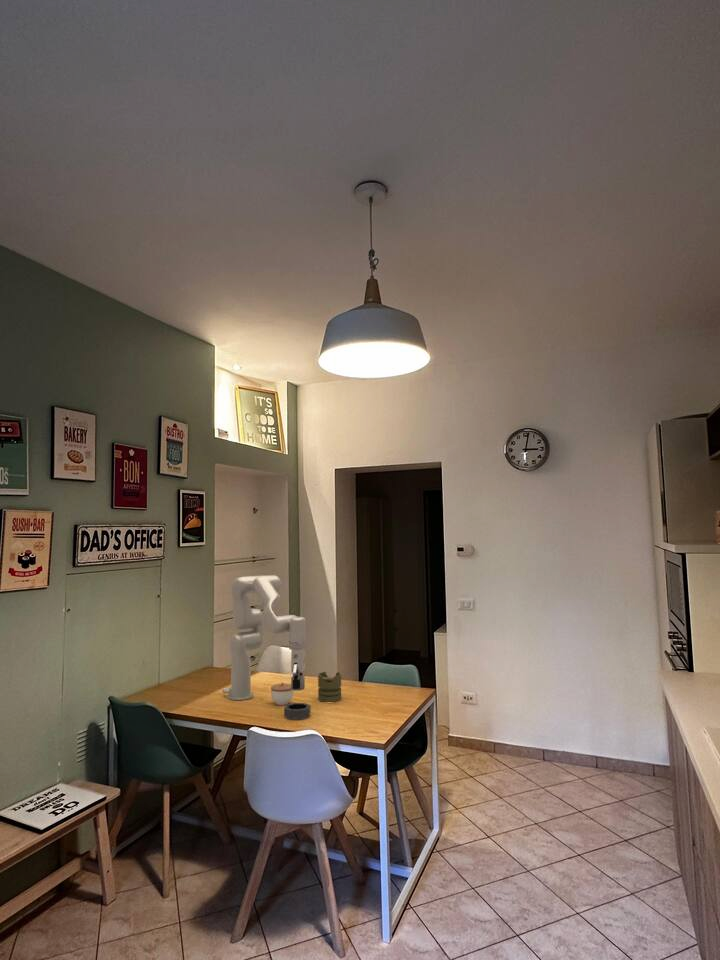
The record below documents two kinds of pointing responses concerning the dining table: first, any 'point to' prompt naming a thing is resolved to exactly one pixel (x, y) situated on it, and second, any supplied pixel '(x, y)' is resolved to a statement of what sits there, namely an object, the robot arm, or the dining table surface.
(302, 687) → the cap
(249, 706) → the dining table surface
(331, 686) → the olive green vest
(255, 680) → the dining table surface
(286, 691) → the lidded jar
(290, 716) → the dark grey round ring
